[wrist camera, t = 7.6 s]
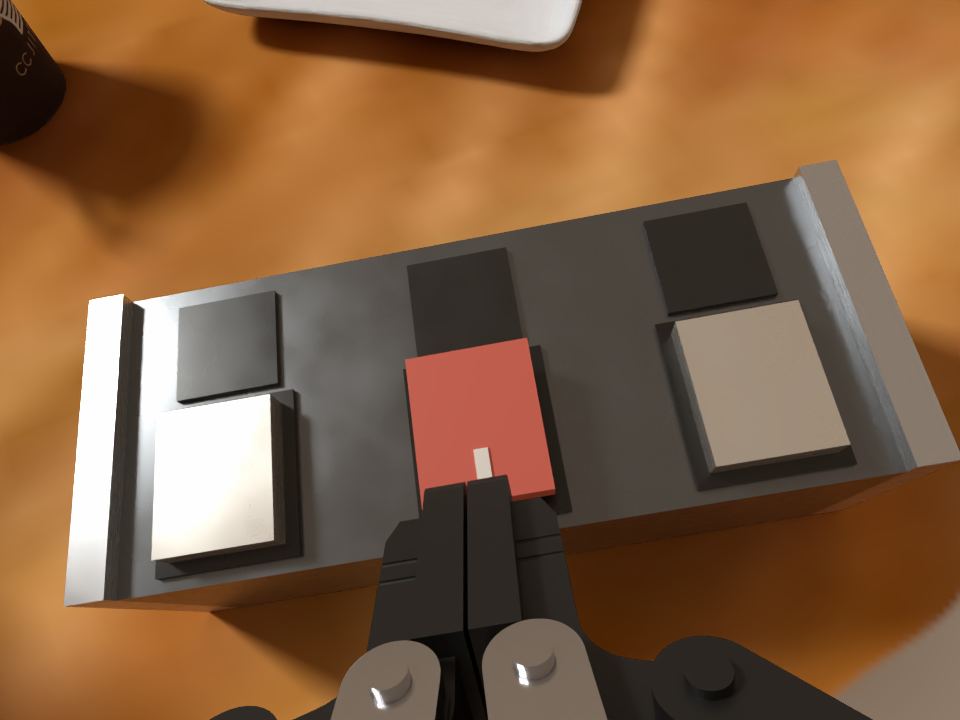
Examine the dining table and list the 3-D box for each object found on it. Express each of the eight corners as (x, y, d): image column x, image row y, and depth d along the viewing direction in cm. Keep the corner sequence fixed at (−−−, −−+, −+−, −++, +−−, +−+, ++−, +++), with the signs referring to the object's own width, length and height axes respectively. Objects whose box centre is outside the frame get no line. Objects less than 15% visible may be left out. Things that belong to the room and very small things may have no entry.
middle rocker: (555, 494, 19) (555, 488, 18) (428, 515, 19) (421, 510, 18) (528, 349, 20) (527, 336, 19) (411, 369, 21) (404, 358, 20)
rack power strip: (841, 509, 26) (973, 455, 18) (208, 612, 27) (51, 606, 19) (763, 283, 30) (842, 149, 21) (210, 383, 31) (80, 294, 23)
